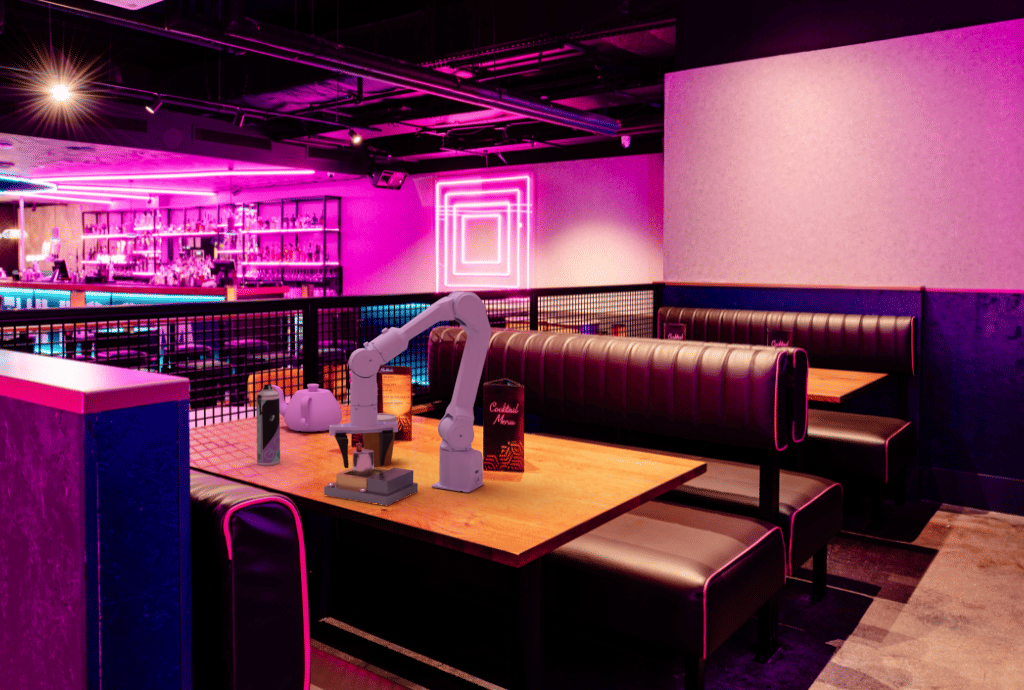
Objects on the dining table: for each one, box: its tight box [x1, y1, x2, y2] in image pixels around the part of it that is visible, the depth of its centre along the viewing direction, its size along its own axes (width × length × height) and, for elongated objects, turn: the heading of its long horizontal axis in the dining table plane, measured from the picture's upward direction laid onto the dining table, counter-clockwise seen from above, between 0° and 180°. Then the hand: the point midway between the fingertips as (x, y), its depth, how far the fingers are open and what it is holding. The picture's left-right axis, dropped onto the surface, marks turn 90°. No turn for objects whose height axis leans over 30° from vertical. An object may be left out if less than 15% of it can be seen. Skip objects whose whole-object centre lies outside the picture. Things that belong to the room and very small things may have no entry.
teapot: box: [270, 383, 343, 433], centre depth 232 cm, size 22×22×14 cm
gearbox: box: [323, 467, 419, 506], centre depth 165 cm, size 16×12×5 cm
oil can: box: [352, 442, 375, 478], centre depth 166 cm, size 4×4×9 cm
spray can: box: [255, 383, 281, 467], centre depth 189 cm, size 6×6×20 cm
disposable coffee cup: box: [361, 412, 399, 467], centre depth 192 cm, size 10×10×12 cm
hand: (363, 465), depth 166 cm, fingers open, 7 cm apart
